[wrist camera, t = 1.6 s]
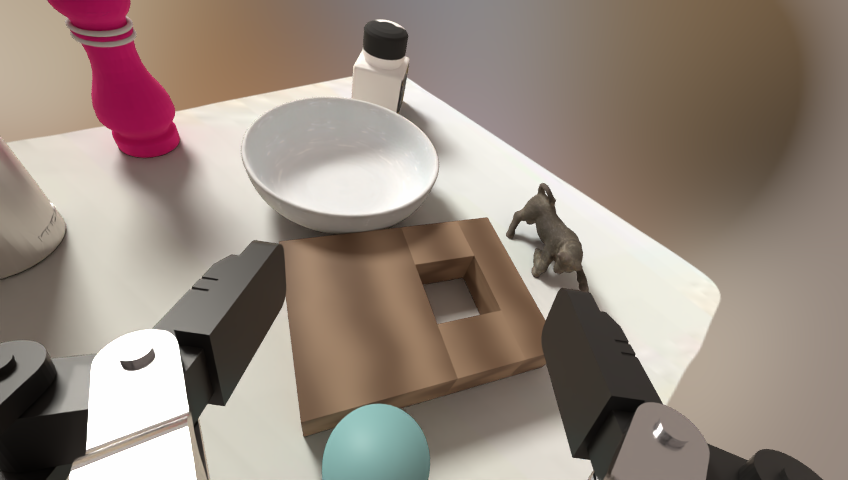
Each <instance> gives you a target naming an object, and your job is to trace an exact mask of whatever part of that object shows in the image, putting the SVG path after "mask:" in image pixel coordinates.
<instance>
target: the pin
mask: <svg viewBox="0 0 848 480" xmlns="http://www.w3.org/2000/svg"><path fill="white" fill-rule="evenodd" d="M429 471H430V455H429V448H428V444H427V441H426V438H425V436H424V434H423V432H422V430H421V428H420V427H419V425H418V424H417V423H416V421H415V420H414V419H413V418H412V417H411V416H410V415H409V414H407V413H406V412H404V411H403V410H401V409H399V408H397V407H394V406H391V405H387V404H370V405H366V406H363V407H360V408H358V409H356V410H354V411H352V412H351V413H349V414H348V415H347V416H345V417H344V418H343V419H342V420H341V421H340V422H339V423H338V424H337V426H336V427H335V429H334V430H333V431H332V433H331V435H330V437H329V439H328V441H327V444H326V447H325V450H324V454H323V461H322V480H428V477H429Z"/></svg>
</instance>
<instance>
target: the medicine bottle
mask: <svg viewBox="0 0 848 480" xmlns="http://www.w3.org/2000/svg"><path fill="white" fill-rule="evenodd" d="M407 40H408V34H407V32H406V30H405V29H404V28H403V27H401V26H400V25H398V24H397V23H394V22H391V21H388V20H374V21H370V22H368V23H367V24H366V25H365V27H364V39H363V50H362V52H361V54H360V56H359V57H358V59H357V61H356V63H355V65H354V67H353V81H352V98H351V99H356V100H361V101H366V102H369V103H373V104H376V105H379V106H382V107H385V108H387V109H389V110H392V111H394V112H396V113H398V114H399V110H400V107H401V104H402V101H403V96H404V90H405V85H406V79H407V73H408V67H409V61H410V60H409V58H408V57H405V53H406V47H407Z"/></svg>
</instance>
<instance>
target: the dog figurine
mask: <svg viewBox="0 0 848 480" xmlns="http://www.w3.org/2000/svg"><path fill="white" fill-rule="evenodd" d="M545 191H546V193H547V195H548V196H547V195H546V194H545ZM555 202H556V200H555V198H554V197H553V195H552V192H551V190H550V188H549V187H548V185H546V184H545V183H541V184H540V186H539V189H538V194H537V195H535V196H534V197H532V198H531V199H530V200H529V201H528V202H527V204H526V205H525V207H524V208H523V209H522V210H520V211H517V212H515V214H514V216H513V220H512V222H511V224H510V226H509V229H508V231H507V233H506V236H507V237H508V238H513V236H514V234H515V229H516V227H517V226H518V224H519V223H520V221H526V222H527V224H529V225H530V224H534V223H536V228H537V233H538V235H539V237H540V239H541V240H542V242H543V243H544V244H545V246H544V248H543V251H541V250H540V249H538V248H536V249H535V253H534V260H533V263H534V266H533V268H532V274H533V276H535V277H539V274H540V273H543V272H545V271H546V270H547V268H548V266H549V265H550V263H551V262H552V261H553V260H554V261H555V262H556V263H555V265H554V272H555V273H557V274H561V273H563V272H564V271H565V272H568V273H571V272H572V271H576V272H577V281H578V282H579V289H580V290H581V291H586V292H588V285H587V279H586V276H585V274H584V272H583V269H582V265H581V262H582V256H583V251H582V245H581V243H580V242H579V239H578V237H577V235H576V234H575V233H574V232H573V231H572V230H570V229H569V228H568V227H566V225H565V224H564V223H563V222H562V220H561V219H560V218H559V217H558V216H557V214H556V209H555Z"/></svg>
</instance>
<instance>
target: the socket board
mask: <svg viewBox="0 0 848 480" xmlns="http://www.w3.org/2000/svg"><path fill="white" fill-rule="evenodd" d="M279 244H282V245H283V248H284V255H285V272H286V303H287V311H288V319H289V327H290V336H291V344H292V352H293V360H294V368H295V377H296V385H297V393H298V401H299V410H300V418H301V425H302V431H303V436H304V437H305V436H308V435H312V434H315V433H318V432H322V431H325V430H329V429H332V428H335V427H336V426H337V424H338V423H339V422H340V421H341V420H342V419H343V418H344V417H345V416H347V415H348V414H349V413H351V412H352V411H354V410H356V409H358V408H360V407H363V406H366V405H370V404H387V405H391V406H394V407H397V408H399V409H400V408H404V407H407V406H411V405H414V404H417V403H421V402H424V401H428V400H431V399H434V398H438V397H441V396H445V395H448V394H451V393H455V392H458V391H462V390H465V389H469V388H472V387H475V386H479V385H482V384H486V383H489V382H492V381H496V380H499V379H503V378H506V377H509V376H513V375H516V374H520V373H523V372H527V371H530V370H533V369H537V368H540V367H543V366H544V365H545V364H546V360H545V357H544V353H543V350H542V344H541V336H542V330H543V326H544V324H545V319H544V317H543V315H542V314H541V312H540V310H539V308H538V307H537V305H536V303H535V301H534V299H533V298H532V296H531V294H530V292H529V291H528V289H527V287H526V285H525V283H524V282H523V280H522V278H521V276H520V274H519V273H518V271H517V269H516V267H515V266H514V264H513V262H512V260H511V258H510V257H509V255H508V253H507V251H506V250H505V248H504V246H503V244H502V242H501V241H500V239H499V237H498V235H497V234H496V232H495V230H494V228H493V226H492V225H491V223H490V221H489V219H488V218H478V219H469V220H461V221H452V222H443V223H435V224H426V225H417V226H409V227H400V228H391V229H383V230H374V231H365V232H356V233H348V234H339V235H330V236H322V237H313V238H304V239H296V240H287V241H279ZM459 278H464V280H465V282H466V285H467V287H468V289H469V291H470V293H471V296H472V298H473V300H474V302H475V304H476V307H477V309H478V311H479V313H480V315H478V316H473V317H469V318H464V319H459V320H455V321H450V322H446V323H441V324H437V322H436V319H435V316H434V314H433V311H432V308H431V306H430V303H429V300H428V298H427V295H426V292H425V290H424V287H423V285H424V284H430V283H436V282H441V281H447V280H453V279H459Z"/></svg>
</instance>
